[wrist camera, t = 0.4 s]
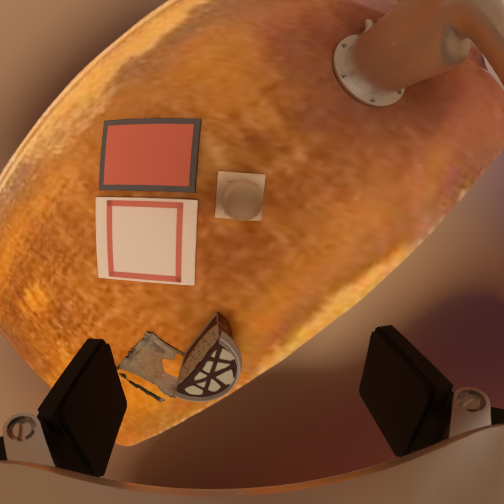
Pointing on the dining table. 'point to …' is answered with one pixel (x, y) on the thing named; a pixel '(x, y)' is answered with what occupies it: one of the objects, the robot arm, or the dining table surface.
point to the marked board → (147, 239)
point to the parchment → (151, 364)
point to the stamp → (239, 196)
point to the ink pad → (150, 154)
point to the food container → (210, 364)
